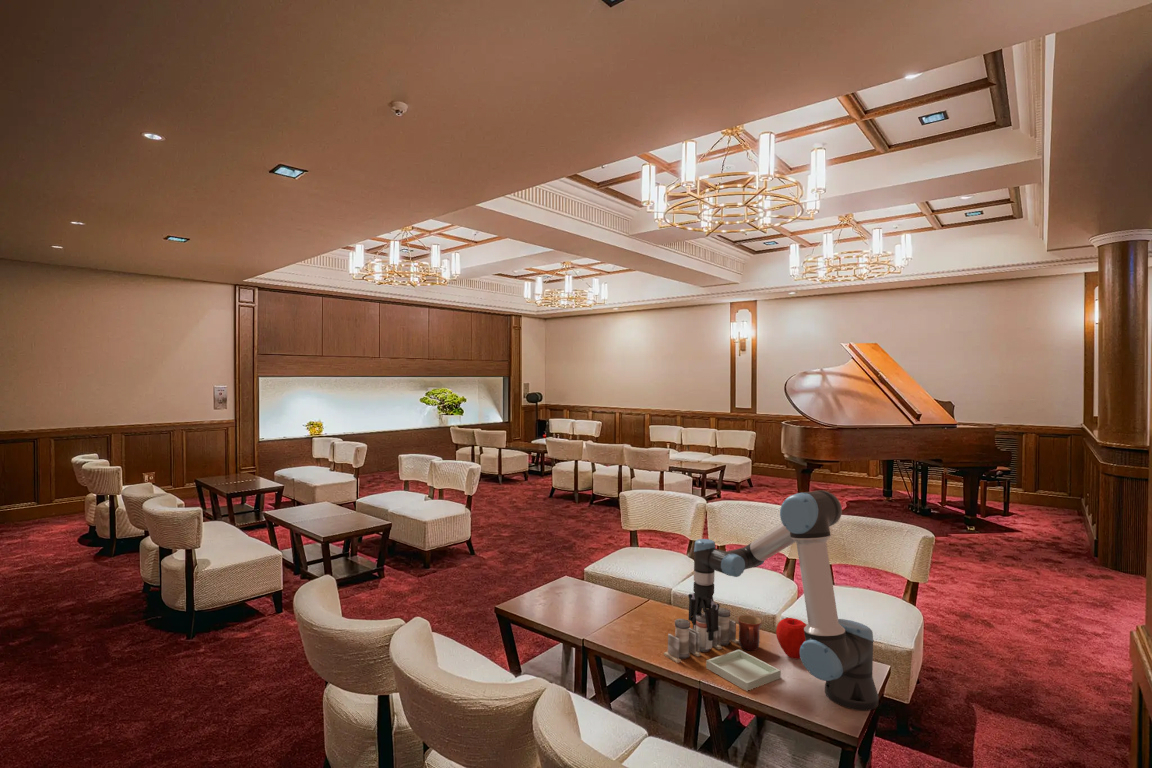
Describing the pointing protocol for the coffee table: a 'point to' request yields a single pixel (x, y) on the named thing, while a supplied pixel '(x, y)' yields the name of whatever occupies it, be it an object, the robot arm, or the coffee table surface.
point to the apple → (791, 636)
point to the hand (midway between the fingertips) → (702, 645)
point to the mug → (749, 632)
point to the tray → (743, 669)
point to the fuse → (701, 630)
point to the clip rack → (690, 638)
